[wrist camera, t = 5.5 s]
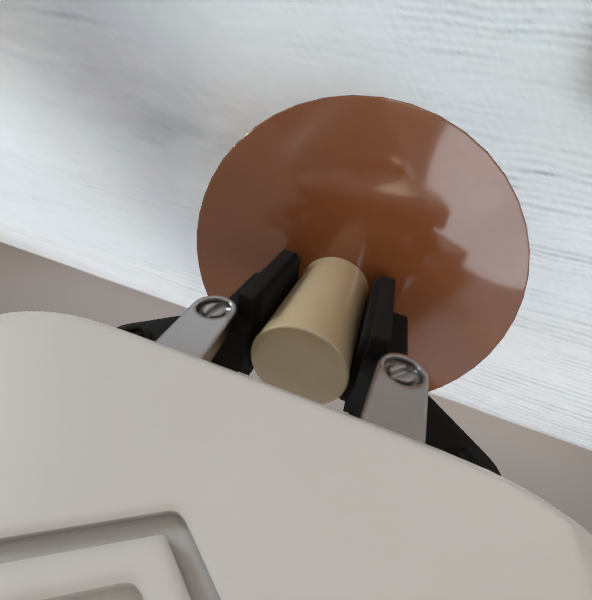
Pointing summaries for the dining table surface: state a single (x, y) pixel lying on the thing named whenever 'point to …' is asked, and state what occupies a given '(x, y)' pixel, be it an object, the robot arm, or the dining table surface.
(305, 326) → the lid
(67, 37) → the dining table surface
